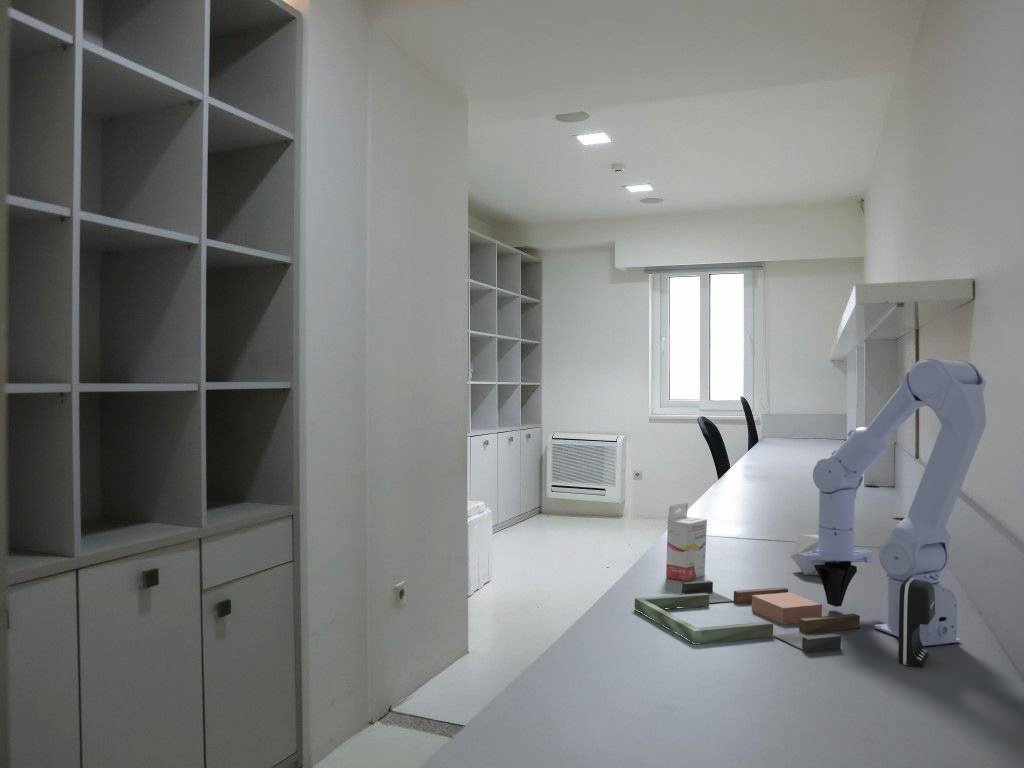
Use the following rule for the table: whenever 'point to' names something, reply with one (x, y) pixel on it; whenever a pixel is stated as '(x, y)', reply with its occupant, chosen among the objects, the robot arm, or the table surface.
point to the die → (802, 546)
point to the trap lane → (704, 595)
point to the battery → (914, 620)
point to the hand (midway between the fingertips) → (834, 604)
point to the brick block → (785, 607)
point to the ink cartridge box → (685, 545)
